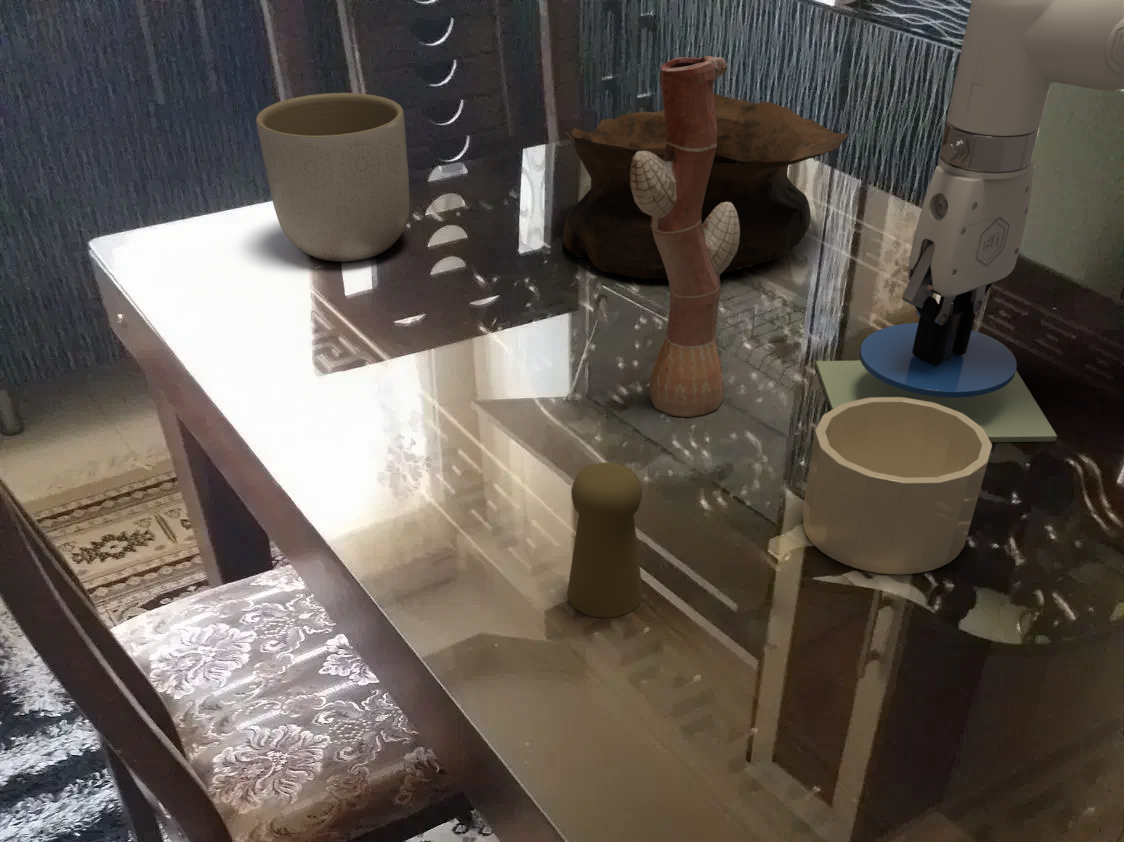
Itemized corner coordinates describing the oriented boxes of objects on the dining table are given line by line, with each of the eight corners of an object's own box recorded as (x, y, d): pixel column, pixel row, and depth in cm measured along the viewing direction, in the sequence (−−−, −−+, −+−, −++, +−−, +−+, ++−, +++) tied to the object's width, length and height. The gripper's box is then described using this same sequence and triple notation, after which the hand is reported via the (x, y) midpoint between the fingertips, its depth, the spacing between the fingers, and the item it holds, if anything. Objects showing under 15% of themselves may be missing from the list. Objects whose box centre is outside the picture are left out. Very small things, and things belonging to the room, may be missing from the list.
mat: (1007, 363, 119) (1009, 358, 119) (1055, 441, 108) (1057, 436, 107) (814, 366, 119) (815, 360, 119) (842, 444, 108) (843, 438, 107)
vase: (721, 380, 117) (751, 44, 96) (734, 415, 112) (769, 68, 91) (618, 385, 117) (626, 48, 96) (627, 421, 111) (637, 72, 90)
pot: (943, 484, 102) (966, 395, 97) (984, 573, 93) (1012, 481, 87) (791, 486, 103) (804, 397, 97) (816, 575, 93) (832, 483, 87)
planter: (426, 265, 139) (413, 129, 129) (285, 281, 136) (260, 142, 126) (405, 216, 151) (392, 87, 140) (275, 229, 148) (251, 99, 138)
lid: (990, 333, 116) (1004, 277, 112) (1033, 403, 106) (1051, 343, 102) (845, 334, 116) (855, 278, 112) (874, 404, 106) (886, 344, 102)
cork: (629, 624, 89) (633, 501, 81) (556, 608, 90) (553, 486, 82) (652, 580, 93) (658, 459, 85) (581, 566, 94) (581, 445, 86)
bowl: (503, 254, 146) (495, 121, 136) (682, 203, 163) (686, 82, 153) (705, 313, 125) (712, 162, 116) (886, 248, 142) (905, 111, 133)
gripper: (956, 178, 92) (909, 393, 104) (1084, 140, 98) (1025, 346, 111) (887, 153, 96) (849, 362, 109) (1014, 118, 103) (964, 319, 115)
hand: (938, 353), depth 110 cm, fingers closed on lid, 2 cm apart
